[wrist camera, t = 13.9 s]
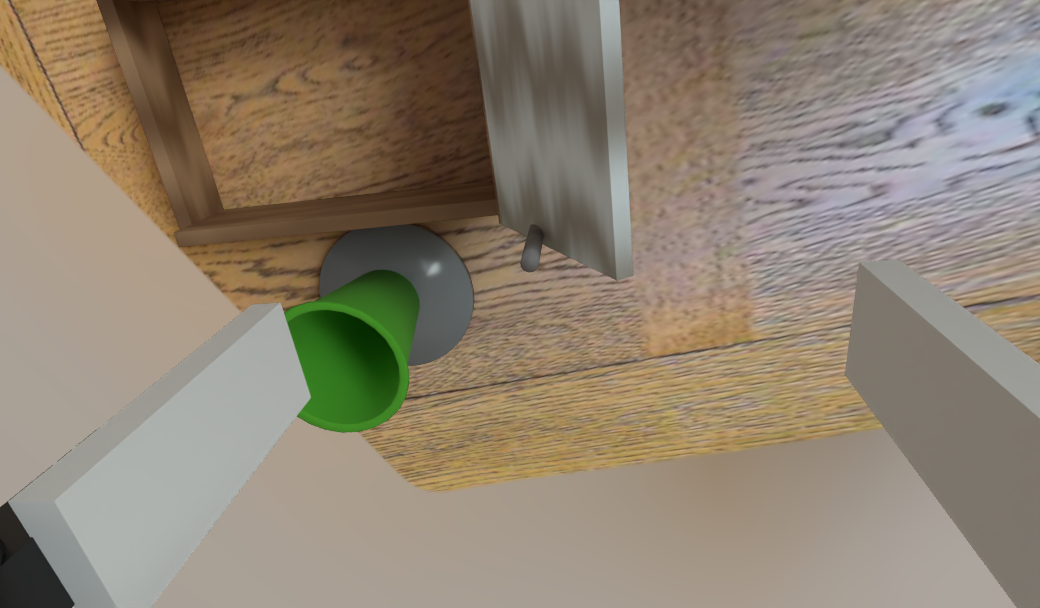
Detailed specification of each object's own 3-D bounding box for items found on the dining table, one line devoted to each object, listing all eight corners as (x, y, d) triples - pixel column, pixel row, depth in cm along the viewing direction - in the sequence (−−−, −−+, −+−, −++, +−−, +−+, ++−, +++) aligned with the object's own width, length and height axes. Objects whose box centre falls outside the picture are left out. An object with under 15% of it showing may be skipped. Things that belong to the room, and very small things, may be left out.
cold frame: (136, -12, 38) (-215, -60, 21) (592, -87, 34) (608, -218, 17) (216, 223, 44) (-6, 332, 27) (609, 182, 41) (634, 278, 24)
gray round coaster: (305, 227, 44) (301, 230, 43) (460, 211, 42) (458, 214, 42) (344, 365, 49) (340, 370, 48) (484, 356, 47) (483, 360, 46)
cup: (371, 366, 47) (316, 452, 37) (308, 272, 45) (230, 337, 34) (466, 325, 45) (435, 404, 35) (406, 223, 42) (354, 278, 32)
